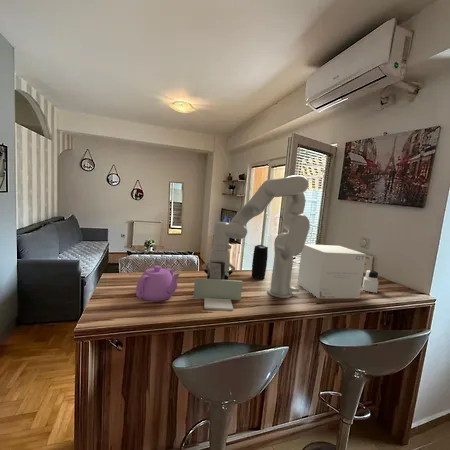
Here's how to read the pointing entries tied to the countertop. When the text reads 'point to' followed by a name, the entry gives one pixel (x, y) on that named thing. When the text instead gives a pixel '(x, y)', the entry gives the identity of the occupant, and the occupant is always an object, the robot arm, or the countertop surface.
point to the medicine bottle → (370, 281)
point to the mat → (218, 304)
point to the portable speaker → (259, 261)
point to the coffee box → (217, 270)
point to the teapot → (156, 284)
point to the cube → (331, 271)
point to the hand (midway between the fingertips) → (217, 282)
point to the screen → (217, 289)
